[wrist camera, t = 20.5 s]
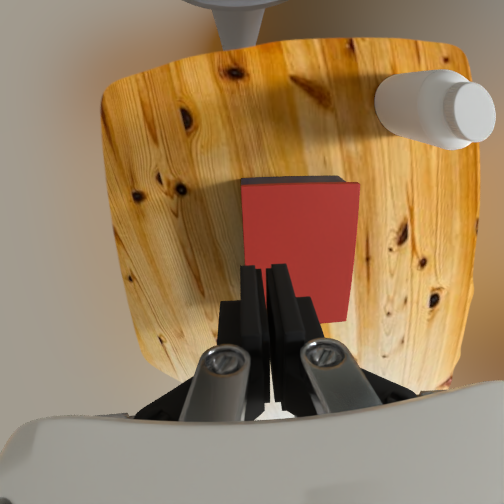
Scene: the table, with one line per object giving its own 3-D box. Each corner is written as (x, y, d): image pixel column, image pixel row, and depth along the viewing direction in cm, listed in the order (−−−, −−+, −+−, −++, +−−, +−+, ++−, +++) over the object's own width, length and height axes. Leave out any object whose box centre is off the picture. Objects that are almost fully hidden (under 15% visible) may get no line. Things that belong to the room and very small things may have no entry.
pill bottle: (362, 83, 32) (430, 75, 19) (415, 68, 31) (493, 62, 18) (383, 144, 36) (454, 169, 22) (433, 126, 34) (512, 145, 21)
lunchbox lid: (240, 184, 30) (240, 186, 30) (357, 182, 31) (360, 183, 30) (248, 324, 37) (248, 328, 37) (344, 317, 38) (346, 321, 37)
